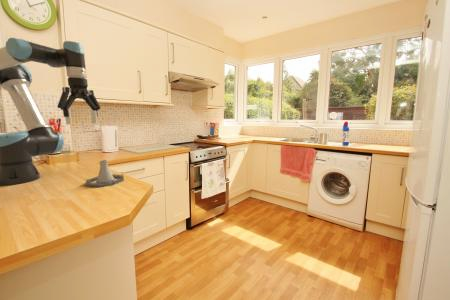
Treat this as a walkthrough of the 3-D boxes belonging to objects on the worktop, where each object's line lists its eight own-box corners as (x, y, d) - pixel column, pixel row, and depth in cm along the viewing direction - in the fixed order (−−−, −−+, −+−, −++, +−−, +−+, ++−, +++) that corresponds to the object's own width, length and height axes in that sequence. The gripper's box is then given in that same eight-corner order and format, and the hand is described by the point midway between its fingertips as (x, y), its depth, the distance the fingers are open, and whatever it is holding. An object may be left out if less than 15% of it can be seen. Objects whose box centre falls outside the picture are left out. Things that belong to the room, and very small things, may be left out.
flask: (117, 179, 101) (115, 159, 100) (106, 184, 94) (104, 162, 93) (104, 179, 103) (102, 158, 101) (92, 183, 96) (90, 162, 94)
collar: (78, 185, 93) (77, 180, 93) (105, 176, 108) (105, 171, 107) (105, 187, 89) (105, 182, 89) (130, 177, 104) (130, 173, 103)
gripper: (55, 72, 86) (63, 124, 89) (105, 81, 109) (109, 122, 113) (42, 73, 88) (49, 125, 91) (93, 82, 111) (98, 123, 115)
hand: (83, 123), depth 102 cm, fingers open, 13 cm apart
